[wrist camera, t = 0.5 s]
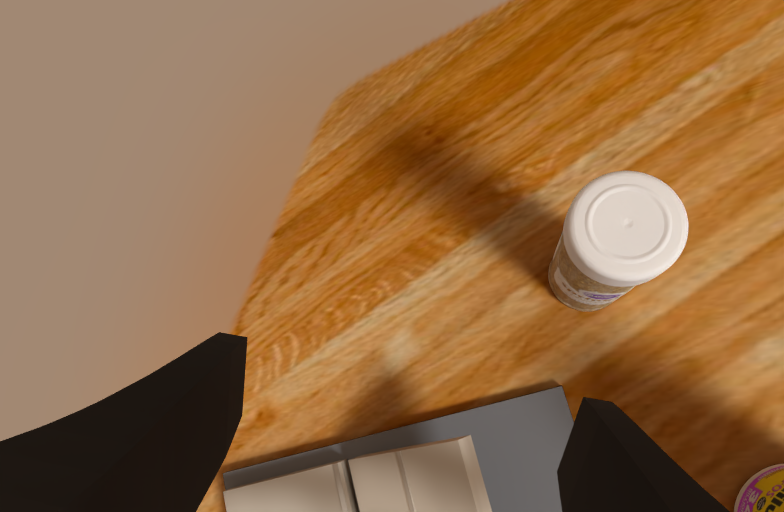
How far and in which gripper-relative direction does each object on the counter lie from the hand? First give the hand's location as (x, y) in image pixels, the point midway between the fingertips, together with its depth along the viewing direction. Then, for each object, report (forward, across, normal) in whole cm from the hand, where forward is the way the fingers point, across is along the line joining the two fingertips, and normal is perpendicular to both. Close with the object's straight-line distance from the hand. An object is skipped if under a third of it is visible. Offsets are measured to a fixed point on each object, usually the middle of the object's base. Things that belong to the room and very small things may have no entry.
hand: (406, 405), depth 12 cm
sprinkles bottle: (+23, -11, +5) cm, 26 cm away
